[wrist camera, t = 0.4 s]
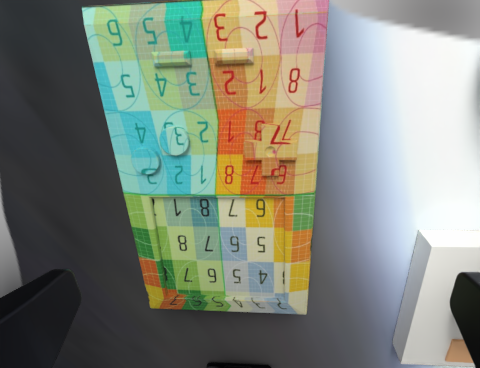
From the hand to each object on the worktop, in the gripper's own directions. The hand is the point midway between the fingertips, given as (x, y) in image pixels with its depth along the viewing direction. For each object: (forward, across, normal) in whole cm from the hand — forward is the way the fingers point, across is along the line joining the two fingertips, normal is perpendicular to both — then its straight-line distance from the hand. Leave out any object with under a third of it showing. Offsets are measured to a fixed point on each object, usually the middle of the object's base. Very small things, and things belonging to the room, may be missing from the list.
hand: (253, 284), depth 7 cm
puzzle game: (+15, +3, +3) cm, 15 cm away
